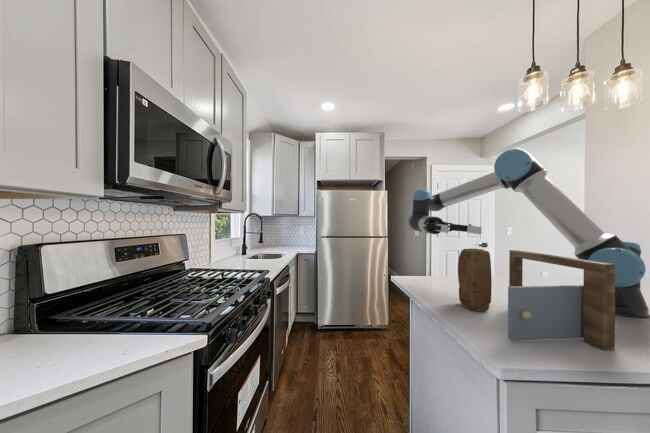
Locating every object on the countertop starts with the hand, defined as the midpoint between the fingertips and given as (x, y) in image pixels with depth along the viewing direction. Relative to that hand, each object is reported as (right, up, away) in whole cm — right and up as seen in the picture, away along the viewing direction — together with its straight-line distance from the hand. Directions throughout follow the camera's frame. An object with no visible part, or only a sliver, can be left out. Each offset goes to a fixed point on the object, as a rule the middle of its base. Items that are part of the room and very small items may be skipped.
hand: (464, 229), depth 100 cm
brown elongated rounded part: (0, -27, -6) cm, 27 cm away
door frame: (+14, -26, -22) cm, 37 cm away
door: (+5, -26, -32) cm, 41 cm away
